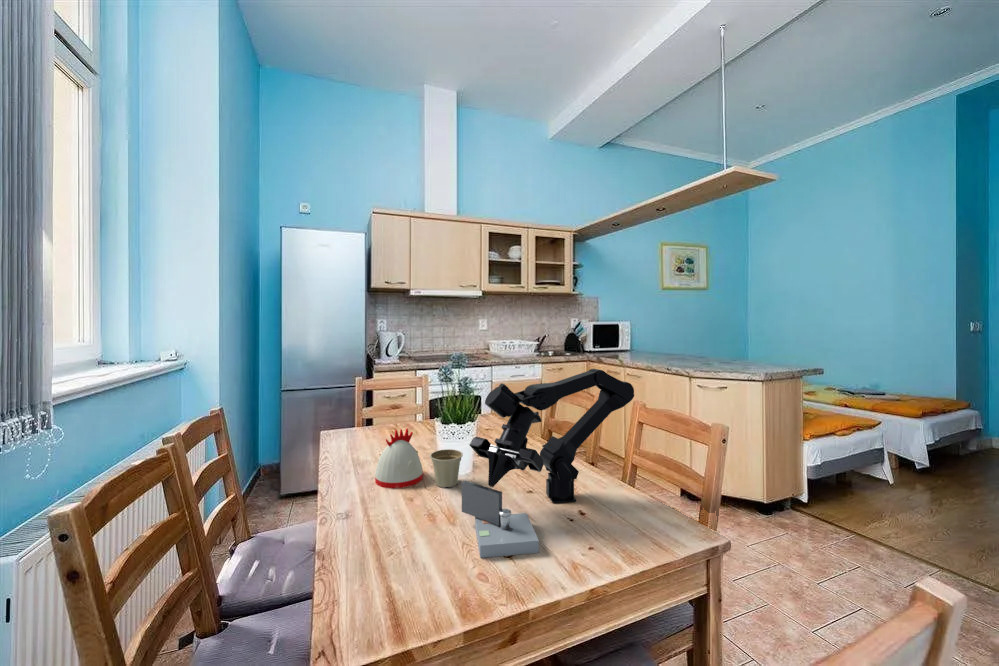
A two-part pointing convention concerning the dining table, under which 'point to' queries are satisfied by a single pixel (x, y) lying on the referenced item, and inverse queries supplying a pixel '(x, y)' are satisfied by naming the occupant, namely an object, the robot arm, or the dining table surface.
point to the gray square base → (506, 537)
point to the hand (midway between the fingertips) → (490, 486)
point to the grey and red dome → (399, 463)
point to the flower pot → (446, 466)
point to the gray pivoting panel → (484, 504)
